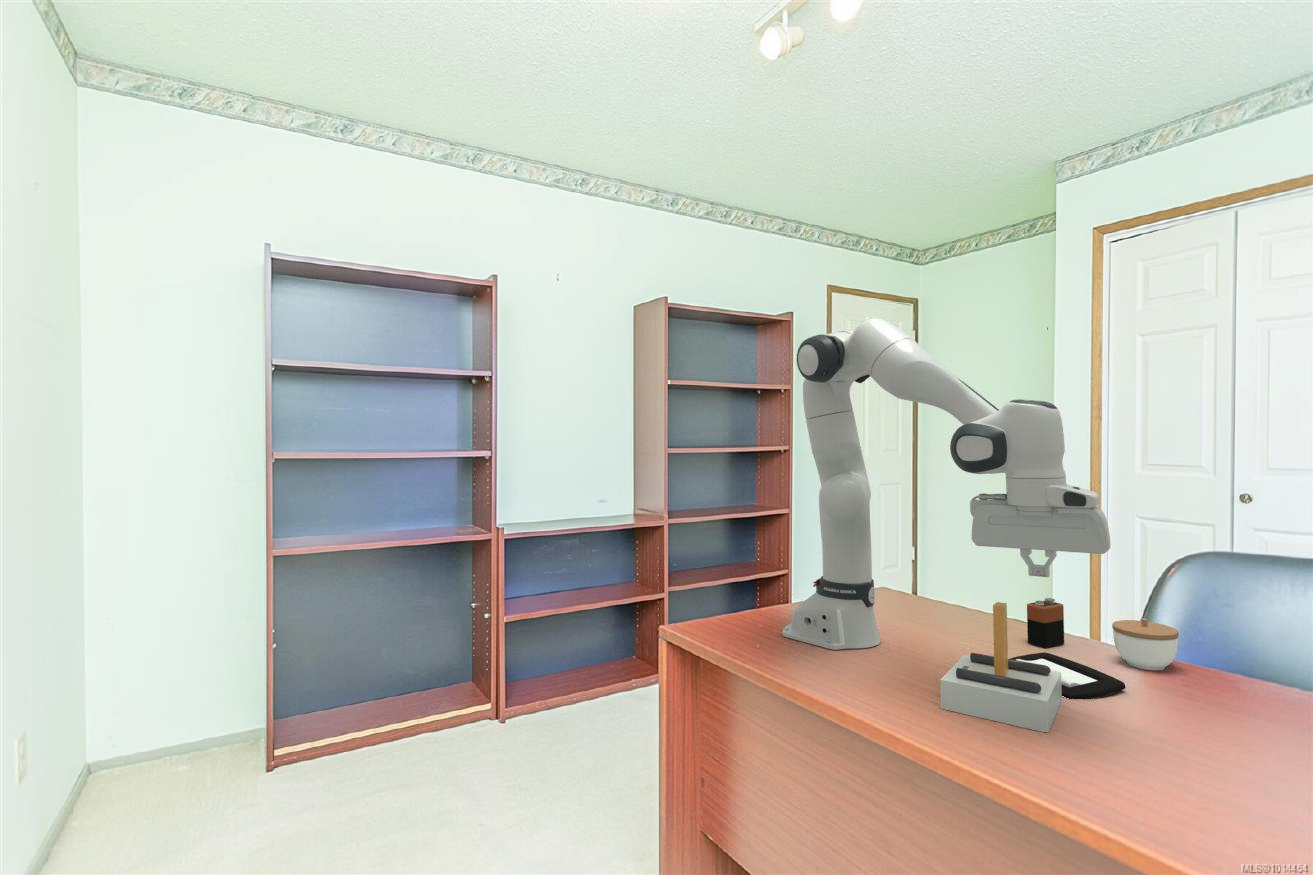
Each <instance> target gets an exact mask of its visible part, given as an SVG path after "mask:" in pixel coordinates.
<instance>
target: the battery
mask: <svg viewBox="0 0 1313 875" xmlns="http://www.w3.org/2000/svg"><path fill="white" fill-rule="evenodd" d="M1055 601H1056V599H1055V598H1052V597H1045V598H1044V600H1035V602H1030V603H1027V604H1026V622H1027V623H1026V624H1027V626H1026V628H1027V630H1026V631H1027V633H1026V634H1027V644H1029V645H1031V644H1032V645H1031V646H1035V647H1038V648H1041V647H1042V649H1048V648H1054V647H1058V646H1062V645H1064V644H1065V625H1064V624H1065V622H1064V621H1065V618H1064V616H1065V615H1064V614H1065V612H1064V609H1065V608H1064V604H1063V603H1060V602H1055Z"/></svg>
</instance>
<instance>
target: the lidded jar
mask: <svg viewBox="0 0 1313 875" xmlns="http://www.w3.org/2000/svg"><path fill="white" fill-rule="evenodd" d="M1111 625H1112V626H1111V627H1112V632H1113V636H1112V637H1113V642H1114V646H1115V649H1116V650H1117V652H1118V655H1120V656H1121V657H1122V658H1123V660H1124V661H1126V664H1127V665H1129V666H1131V667H1133V668H1137V669H1141V670H1147V671H1163V670H1165V669H1166V667H1169V665H1170V664H1171V663H1173V661H1174V660H1175V659H1176V656H1177V654H1178V648H1179V647H1178V646H1179V631H1178V630H1177V629H1176V628H1174V627H1172V626H1169V625H1167V624H1163V623H1159V622H1155V621H1154V622H1152V621H1148V618H1140V620H1136V619H1135V620H1134V619H1122V620H1116V621H1113V622H1112V624H1111Z"/></svg>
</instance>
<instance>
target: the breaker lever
mask: <svg viewBox="0 0 1313 875" xmlns="http://www.w3.org/2000/svg"><path fill="white" fill-rule="evenodd" d="M1007 607H1008V605H1007V602H1000V601H996V602H995V603H994V604H993V605H992V617H993V618H992V619H993V622H992V623H993V624H992V626H993V656H994V675H1000V676H1005V675H1006V674H1007V673H1008V659H1009V652H1008V651H1009V650H1008V648H1009V647H1008V646H1009V645H1008V644H1009V643H1008V641H1009V640H1008V608H1007Z"/></svg>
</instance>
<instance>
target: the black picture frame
mask: <svg viewBox="0 0 1313 875" xmlns="http://www.w3.org/2000/svg"><path fill="white" fill-rule="evenodd" d="M1009 659H1012V660H1017V661H1023V662H1029V663H1035V664H1041V665H1046V666H1048V667H1049V668H1050V670H1052V671H1058V672H1061V686H1062V696H1064V697H1066V698H1065V699H1067V698H1069V699H1068V700H1070V699H1083V700H1093V698H1094V699H1098V698H1104V697H1106V696H1110V695H1114V694H1117V693H1118V692H1121V691H1123V690H1125V689H1126V684H1125V682H1123V681H1122V680H1120V679H1118V678H1115V677H1113V676H1111V675H1110V674H1109V675H1108V674H1107V673H1105V672H1102V671H1099V670H1097V669H1095V668H1092V667H1090V666H1087V665H1085V664H1082V663H1079V662H1076V661H1074V660H1071V659H1069V658H1068V659H1067V658H1065V657H1062V656H1059V655H1056V654H1052V653H1049V652H1036V653H1035V652H1034V653H1029V654H1028V653H1027V654H1024V655H1018V656H1013V657H1010V658H1009ZM1064 697H1063V698H1064Z"/></svg>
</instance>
